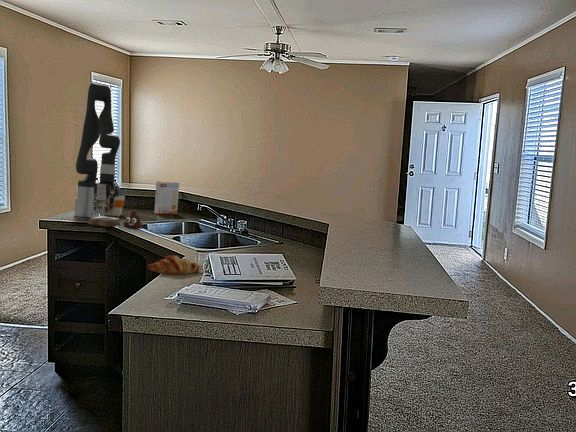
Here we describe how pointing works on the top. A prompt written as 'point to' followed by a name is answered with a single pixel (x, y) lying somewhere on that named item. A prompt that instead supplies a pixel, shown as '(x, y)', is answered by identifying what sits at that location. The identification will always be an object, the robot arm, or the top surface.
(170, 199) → the cracker box
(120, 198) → the reusable coffee cup
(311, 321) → the top surface
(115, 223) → the square wooden picture frame
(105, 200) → the coffee box
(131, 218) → the poop emoji
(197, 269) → the croissant
